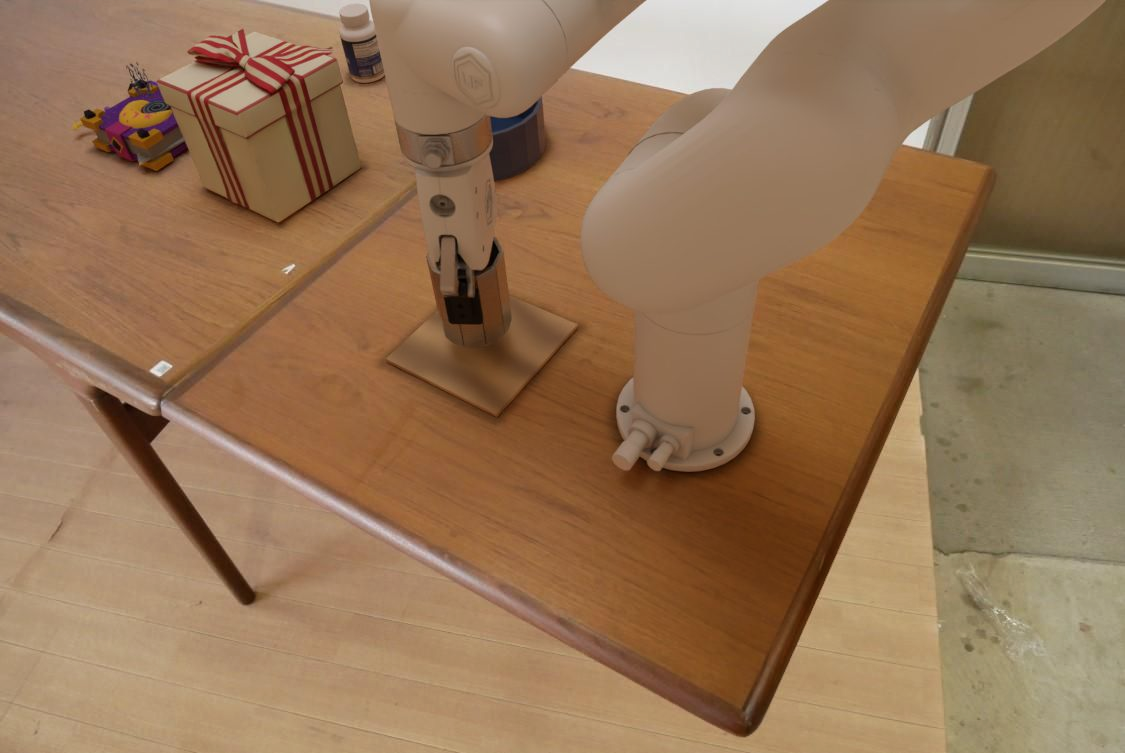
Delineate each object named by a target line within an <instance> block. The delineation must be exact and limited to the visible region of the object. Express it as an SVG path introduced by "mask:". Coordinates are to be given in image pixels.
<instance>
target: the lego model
mask: <svg viewBox="0 0 1125 753" xmlns="http://www.w3.org/2000/svg"><path fill="white" fill-rule="evenodd" d="M135 63H136V66H135V65H133V63H129V65H126V66H125V68H126V69H128V73H129V75H130V78H129V80H130V83H129V86H128V88H127V94H128V97H127V98H125V99H123V100H122V101H120V102H118V103H116V104H115V105H113V106H111V107H110V106H106V105H105V106H104V107H103V110H102V109H100V108H95V109H94V110H91V109H90V108H88V109H86V110H84V111H83V115H84V116H81V117H80V118H79V120H80V121H76V122H75V123H74V124H72V127H71V129H72V130H74V131H77V130H78V128H80V127H82V126H83V127H84V128H87V129H90V130H92V131H94V132H93V135H94V136H96V138H94V139H93V140H92V142H91V143H92V144H93V146H94V148H96V149H99V150H101V151H104V152H107V153H110V152H115V154H117V157H121V158H123V159H126V160H128V161H131V162H135V161H137V162H138V165H139V167H141V166H143V167H145V168H148V169H150V170H153V171H155V172H158V171H159V170H161V169H162V168H164V167H165V166H167V165H169V164H170V163H172V162H173V161H174V157H176V156H177V155H178V154H180V153H182V152H183V151H185V150H186V149H188V147H187V145H186V142H185V140H184V138H183V135H182V133H181V130H180V128H179V126H178V123H177V121H176V119H175V116H174V114H173V111H172V109H171V107H170V106H168V105H166V103H165V101H164V99H163V96H162V94H161V92H160V89H159V87H158V84H157V81H153V80H149V77H148V76H147V74H146V70H145V69H144V68H142V72H141V71H140V70H139V69H138V68H139V63H138V61H136V62H135ZM137 66H138V67H137ZM130 67H131V68H133V70H132V69H131V68H130ZM134 72H135V73H134ZM142 74H143V75H142ZM135 75H136V76H135ZM136 77H138V78H136Z"/></svg>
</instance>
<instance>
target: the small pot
mask: <svg viewBox="0 0 1125 753" xmlns="http://www.w3.org/2000/svg"><path fill="white" fill-rule="evenodd" d="M425 259H426V262H427V267H428V271H429V272H428V273H429V276H430V281H431V286H432V290H433V295H434V300H435V304H436V309H437V310H438V314H439V319H440V323H441V326H442V329H443V332H444V334H445V336H446V338H447V339H449V340H450V341H451V342H452V343H454V344H456V345H458V346H462V347H466V348H479V347H485V346H488V345H491V344H493V343H495V342H497V341H498V340H500V339H501V338H502V337H503V336H504V335H505V334H506V333H507V331H508V329H509V327H510V323H511V320H512V316H511V308H510V300H509V295H510V292H509V286H508V276H507V270H506V268H507V267H506V260H505V252H504V249H503V248H502V245H501V243H500V241H499V239H498V238H497V237H496V236H494V238H493V243H492V248H491V253H490V258H489V262H488V264H487V266H486V267H485V268H484V269H483V270H474V277H475V289H479V293H480V299H481V306H482V312H483V323H482V324H480V325H469V324H451V323H449V321H448V316H447V311H446V306H445V301H444V297H443V294H442V293H441V291H440V270H441V267H440V269H439V270H437V269H436V268H434V267H433V265H432V264H431V261H430V258H429V254H428V253H427V254H426V256H425ZM458 260H463V258H462V257H461V255H460V254H458ZM457 277H458V281H459V282H463V283H467V282H466V270H458V271H457Z"/></svg>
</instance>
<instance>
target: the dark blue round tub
mask: <svg viewBox="0 0 1125 753" xmlns="http://www.w3.org/2000/svg"><path fill="white" fill-rule="evenodd" d="M490 121H491V129H492V136H493V146H492V149H491V151H490V153H489V155H490V161H491V166H492V172H493V178H494V182H498V181H503V180H506V179H509V178H512V177H515V176H517V175H520V174H522V173H523V172H526V171H528V169H530V168H532V167H533V166H535V164H536V163H537V162H538V161H539V160H540V159H541V158H542V156H543V155H544V152H545V150H546V146H547V145H546V143H547V139H546V129H545V128H546V126H545V125H546V124H545V113H544V100H543V96H542V97H541V98H540V99H539V100H538V101H536V102H535V103H534V104H533V105H532V106H531V107H530V108H529V109H527V110H526V111H525V112H523V113H521V114H519V115H517V116H513V117H509V118H497V117H492V116H490Z"/></svg>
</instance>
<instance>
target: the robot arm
mask: <svg viewBox="0 0 1125 753" xmlns="http://www.w3.org/2000/svg"><path fill="white" fill-rule="evenodd" d="M646 1H647V0H368V2H369V8H370V13H371V18H372V21H373V23H374V28H375V32H376V37H377V41H378V46H379V50H380V55H381V59H382V64H383V69H384V73H385V75H384V78H385V84H386V88H387V91H388V96H389V97H388V98H389V101H390V104H391V110H392V113H393V114H392V115H393V119H394V124H395V129H396V134H397V138H398V143H399V148H400V153H401V156H402V158H403V160H404V161H405V162H406V163H407V164H408V165H410V166H411V167H413V168H414V175H415V183H416V193H417V199H418V205H419V212H420V218H421V224H422V230H423V236H424V242H425V246H426V250H427V254H429V258H430V261H431V264H432V265H433V267H434V268H436V269H437V270H439V269H440V267H441V270H440V291H441V293H442V294H443V297H444V301H445V306H446V311H447V316H448V321H449V323H451V324H469V325H480V324H482V323H483V312H482V306H481V299H480V293H479V289H475V277H474V270H483V269H484V268H485V267H486V266H487V264H488V262H489V258H490V253H491V248H492V243H493V238H494V237H495V232H496V227H497V220H498V215H499V214H498V212H499V202H498V196H497V190H496V184H495V181H494V178H493V172H492V166H491V161H490V155H489V153H490V151H491V149H492V146H493V136H492V129H491V121H490V116H492V117H497V118H509V117H513V116H517V115H519V114H521V113H523V112H525V111H526V110H527V109H529V108H530V107H531V106H532V105H533V104H534V103H535V102H536V101H538V100H539V99H540V98H541V97H542V98H543V96H544V95H545V94H546V93H547V92H548V91H549V90H550V89H551V88H552V87H553V86H554V85H555V84H556V83H557V82H558V81H559V80H560V78H561V77H563V76H564V75H565V74H566V73H567V72H568V71H569V70H570V69H571V68H572V67H573V66H574V65H575V64H576V63H577V62H578V61H579V60H580V59H582V58H583V57H584V56H585V55H586V54H587V53H588V52H589V51H590V50H591V49H593V47H594V46H596V44H598V42H600V41H601V40H602V39H603V38H604V37H605V36H606V35H607V34H608V33H610V32H611V31H612V30H614V28H615V27H616V26H618V25H619V24H620V23H621V22H622V21H624V20H625V19H626V18H627V17H629V15H631V14H632V13H633V12H634V11H635V10H637V9H638V8H639V7H640V6H641V5H643V4H644V3H645V2H646ZM1106 1H1107V0H826V1H825V2H823V4H821V5H819V6H818V7H816V8H815V9H813V10H812V11H810V12H809V13H807V14H806V15H804V16H802V17H801V18H799V19H798V20H796V21H794V22H793V23H792V24H790V25H789V26H787V27H786V28H784V29H783V30H782V31H780V32H779V33H778V34H777V35H776V36H774V37H773V39H771V40H770V42H769V43H768V44H767V45H766V46H765V47H764V48H763V50H762V51H761V52H760V53H759V55H758V56H756V58H755V59H754V61H753V62H752V63H751V64H750V66H748V68H747V70H746V71H745V72H744V73H743V74H742V75H741V77H740V78H739V80H738V81H737V82H736V83H735V85H734V86H733V88H731V89H730V88H724V87H712V88H705V89H701V90H698V91H694V92H692V93H690V94H688V95H686V96H684V97H682V98H681V99H679V100H677V101H676V102H675V103H673V104H672V105H671V106H669V108H667V109H666V110H665V111H664V112H662V114H661V115H660V116H659V117H658V118H657V119H656V120H655V121H654V122H653V123H652V125H650V127H649V128H648V129H647V130H646V132H644V134H643V135H642V136H641V138H640V139H639V140H638V141H637V143H635V145H634V146H633V147H632V148H631V149H630V151H629V152H628V154H627V156H626V157H625V158H624V160H623V161H622V162H621V163H620V164H619V166H618V167H617V168H616V169H615V171H614V172H613V173H612V174H611V175H610V176H609V178H608V179H607V180H606V181H605V182H604V184H602V186H601V187H600V188H599V189H598V190H597V192H596V194H595V195H594V196H593V198H592V199H591V201H590V202H589V205H588V206H587V208H586V210H585V213H584V215H583V219H582V222H581V226H580V235H579V245H580V254H581V258H582V262H583V265H584V267H585V270H586V272H587V274H588V276H589V278H590V279H591V281H592V283H593V284H594V285H595V286H596V287H597V288H598V290H599V291H600V292H602V294H603V295H605V297H606V298H609V299H610V300H611V301H613V302H615V303H616V304H618V305H620V306H622V307H625V308H627V309H630V310H632V311H634V312H633V313H634V314H633V320H634V321H633V377H631V378H630V379H628V381H627V382H626V384H624V386H623V387H622V389H621V390H620V393H619V395H618V397H617V403H616V408H615V409H616V410H615V418H616V425H617V429H618V431H619V432H618V433H619V434H620V436H621V438H622V440H623V441H622V442H621V444H620V445H619V446H618V447H617V449H616V450H615V451H614V453H613V454H612V455H611V461H612V462H613V464H614V465H615V466H616V467H617V468H619V469H620V470H622V471H626V472H627V471H630V470H631V469H632V468H633V466H634V465H635V463H636V462H638V460H639V458H641V459H643V460H644V461H646V464H647V466H648V467H649V468H650V469H651V470H653V471H654V472H661V470H662V469H666V470H669V471H676V472H686V473H688V472H689V473H690V472H691V473H692V472H702V471H707V470H711V469H715V468H717V467H720V466H723V465H725V464H727V463H729V462H730V461H731V460H733V459H735V458H736V457H737V456H738V455H739V454H740V453H741V452H742V451H743V450H745V449H746V446H747V445H748V444H749V441H750V440H751V437H752V435H753V431H754V426H755V422H756V416H755V415H756V414H755V413H756V412H755V406H754V403H753V400H752V398H751V395H750V394H749V392H748V391H747V389H746V388H745V387H744V386H743V383H744V378H745V377H744V375H745V372H746V366H747V359H748V358H747V357H748V352H749V345H750V339H751V333H752V327H753V321H754V315H755V307H756V304H757V299H758V292H759V287H760V281H761V279H763V278H765V277H767V276H770V275H772V274H774V273H776V272H778V271H780V270H782V269H784V268H786V267H787V268H788V267H789V266H791V265H793V264H795V263H797V262H800V261H801V260H803V259H805V258H807V257H809V256H811V255H813V254H814V253H816V252H818V251H820V250H822V249H823V248H825V247H826V246H827V245H829V244H830V243H832V242H833V241H834V240H835V239H836V238H838V237H839V236H841V234H843V233H844V232H845V231H846V230H847V229H848V228H850V227H851V226H852V225H853V223H855V221H856V220H858V218H859V216H861V214H862V213H863V212H864V211H865V209H866V208H867V207H868V205H869V204H870V202H871V201H872V199H873V197H874V195H875V194H876V192H877V190H878V188H879V186H880V185H881V182H882V180H883V178H884V177H885V174H887V173H886V172H887V170H888V168H889V166H890V165H891V162H892V161H893V159H894V157H895V156H896V154H897V152H898V151H899V149H900V148H901V147H902V145H903V144H904V142H905V141H906V140H907V138H908V137H909V136H910V135H911V134H912V133H913V132H914V131H916V130H917V129H918V128H920V127H921V126H923V125H925V123H927V122H928V121H930V120H932V119H933V118H934V117H935V118H936V116H938V115H940V114H941V113H943V112H945V111H946V110H948V109H950V108H952V107H953V106H955V105H957V104H959V103H960V102H962V101H963V100H965V99H966V98H968V97H970V96H972V95H973V94H975V93H977V92H978V91H980V90H982V89H983V88H985V87H986V86H988V85H989V84H991V83H992V82H995V81H996V80H997V79H999V78H1001V77H1003V76H1004V75H1006V74H1007V73H1009V72H1010V71H1012V70H1014V69H1015V68H1017V67H1019V66H1021V65H1022V64H1024V63H1025V62H1027V61H1029V60H1031V59H1032V58H1034V57H1035V56H1037V55H1038V54H1039V53H1041V52H1043V51H1044V50H1045V49H1047V48H1049V47H1050V46H1051V45H1053V44H1055V43H1056V42H1057V41H1058V40H1060V39H1061V38H1063V37H1065V35H1067V34H1068V33H1070V32H1071V31H1072V30H1073V29H1075V28H1076V27H1077V26H1079V25H1080V24H1081V23H1082V22H1084V21H1085V20H1086V19H1088V17H1090V16H1091V15H1092V14H1093V13H1094V12H1096V10H1097V9H1099V8H1100V7H1101V6H1102V5H1103V4H1104V3H1105V2H1106ZM458 254H460V255H461V257H462V258H463V260H458ZM458 270H466V282H467V283H463V282H459V281H458V277H457V271H458Z"/></svg>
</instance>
